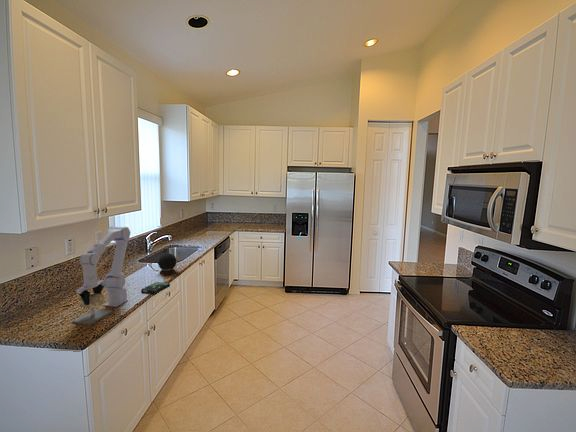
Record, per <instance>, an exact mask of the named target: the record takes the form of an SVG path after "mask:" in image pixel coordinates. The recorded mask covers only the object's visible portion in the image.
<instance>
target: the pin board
mask: <svg viewBox="0 0 576 432" xmlns="http://www.w3.org/2000/svg"><path fill="white" fill-rule="evenodd" d="M112 313H113V310H109V309H108V310H107V309H102V308H91V309H90V310H89V312H87V313H85V314H83V315H81V316H80V317H78V318H75V319H73V320H72V323H73V324H76V325H77V324H78V325H85V326H91V325H93V324H94V323H96V322H98V321H100V320H101V319H104V318H105V317H106V316H109V315H110V314H112Z"/></svg>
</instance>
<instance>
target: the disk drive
mask: <svg viewBox="0 0 576 432" xmlns="http://www.w3.org/2000/svg"><path fill="white" fill-rule="evenodd" d="M170 287H171V283H170V282H161V281H156V282H153V283H151V284H149V285H147V286H145V287H143V288H141V289H140V292H141V293H142V294H150V295H157V294H158V293H160V292H162V291H164V290H166V289H168V288H170Z"/></svg>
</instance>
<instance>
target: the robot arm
mask: <svg viewBox="0 0 576 432" xmlns="http://www.w3.org/2000/svg"><path fill="white" fill-rule="evenodd" d="M130 235H131V230H130V228H129V227H128V226H113V225H112V226H110V227H108V229H107V231H106V234H105V236H104V237H103V238H102V239H101V241H100V242H96V243H94V245H92V246H91V248H90V249H89V250H88V251H87V252H83V253H81V255H80V256H79V260H78V262H79V263H80V265H81V268H82V273H83V274H82V276H83V284H82V286H81V287H79V288H77V289H76V291H75V292H76V294H78V295H79V297H80V296H81V298H82V300H83V302H84V304H85V305H89V297H90V293H97V294H102V291H103V290H104V289H105V290H106V291H107V292H106V293H107V303H104V304H103V306H105V307H106V306H107V307H114V308H117V307H119V306H120V305H122V304H124V303H127V302H128V301H129V298H128V295H127V288H126V287H125V285H126V275H125V273H124V272H123V266H124V263H125V262H124V260H125V257H126V252H127V247H128V243H129V241H130ZM112 241H113V242H115V243H116V246H115V250H114V255H113V260H112V264H111V269H110V271H108V272H107V273H106V274H105V277H104V278H103V279H99V280H98V269H97V264H98V263H99V261H100V258H101V255H103V254H104V252H105V251H106V250H107V246H108V245H109V244H110V243H112ZM91 289H92V291H93V292H91V291H89V290H91Z"/></svg>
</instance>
